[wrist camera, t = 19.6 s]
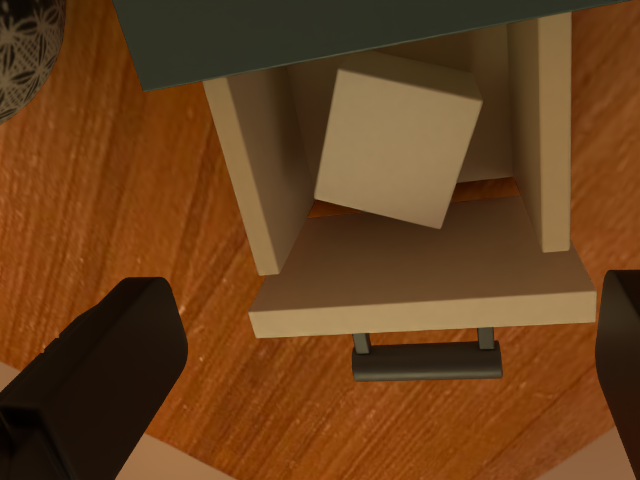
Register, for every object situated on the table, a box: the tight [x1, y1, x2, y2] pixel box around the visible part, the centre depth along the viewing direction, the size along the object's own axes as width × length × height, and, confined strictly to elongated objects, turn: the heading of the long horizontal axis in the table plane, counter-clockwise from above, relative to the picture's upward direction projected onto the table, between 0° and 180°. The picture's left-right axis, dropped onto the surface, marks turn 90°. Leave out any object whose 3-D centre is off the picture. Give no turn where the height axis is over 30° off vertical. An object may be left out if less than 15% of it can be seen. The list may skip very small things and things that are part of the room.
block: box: [314, 50, 483, 229], centre depth 19 cm, size 5×5×5 cm
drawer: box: [202, 12, 597, 382], centre depth 19 cm, size 18×11×8 cm, turn 12°
